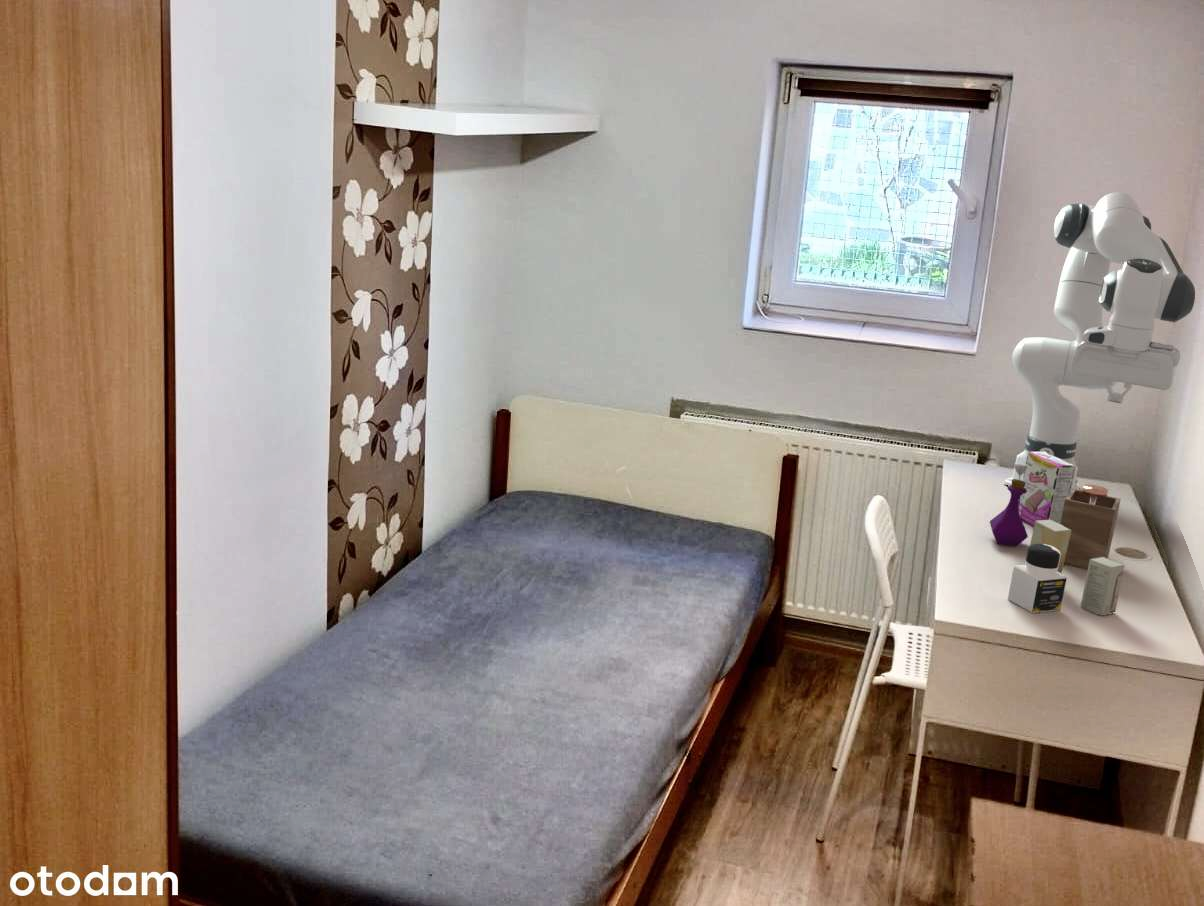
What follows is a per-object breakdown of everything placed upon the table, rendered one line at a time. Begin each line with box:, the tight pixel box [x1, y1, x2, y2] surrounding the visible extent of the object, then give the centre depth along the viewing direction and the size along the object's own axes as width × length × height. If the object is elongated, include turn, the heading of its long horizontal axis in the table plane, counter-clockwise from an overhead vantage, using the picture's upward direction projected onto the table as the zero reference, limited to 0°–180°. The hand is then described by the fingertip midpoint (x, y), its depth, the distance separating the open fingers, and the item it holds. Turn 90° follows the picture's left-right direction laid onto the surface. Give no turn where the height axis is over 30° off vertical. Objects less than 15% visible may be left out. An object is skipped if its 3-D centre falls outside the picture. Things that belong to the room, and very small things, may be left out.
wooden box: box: [1060, 489, 1122, 571], centre depth 268 cm, size 10×10×14 cm
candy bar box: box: [1018, 451, 1075, 528], centre depth 289 cm, size 11×5×16 cm, turn 20°
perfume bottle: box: [989, 463, 1029, 548], centre depth 275 cm, size 8×8×18 cm
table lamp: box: [1081, 483, 1109, 505], centre depth 267 cm, size 8×8×13 cm
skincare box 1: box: [1029, 520, 1071, 574], centre depth 254 cm, size 6×4×12 cm
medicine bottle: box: [1007, 544, 1068, 614], centre depth 241 cm, size 7×7×12 cm
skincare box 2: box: [1080, 557, 1125, 616], centre depth 242 cm, size 5×4×10 cm
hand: (1115, 401), depth 266 cm, fingers closed
